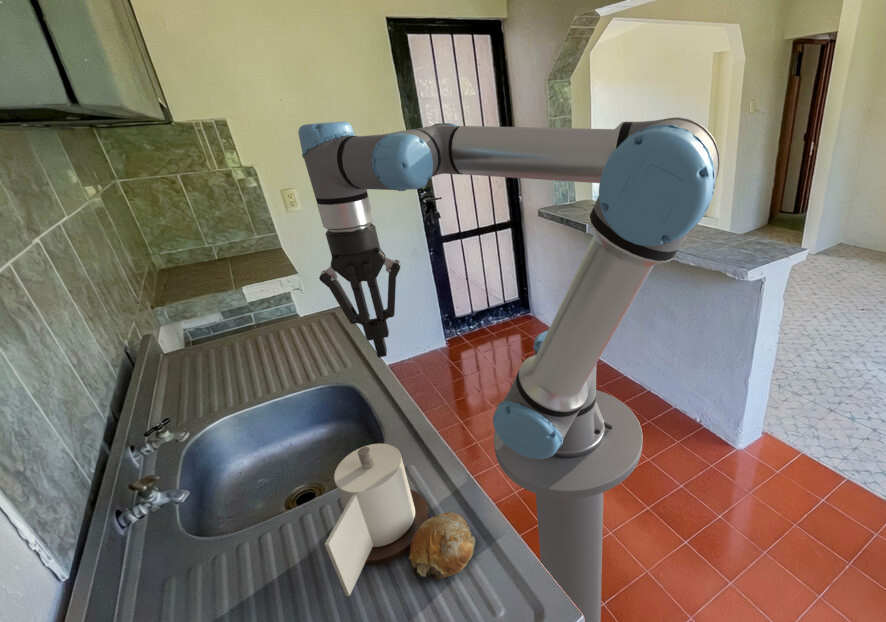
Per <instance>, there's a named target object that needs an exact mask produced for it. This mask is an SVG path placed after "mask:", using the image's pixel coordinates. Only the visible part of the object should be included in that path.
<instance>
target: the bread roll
mask: <svg viewBox="0 0 886 622" xmlns="http://www.w3.org/2000/svg"><path fill="white" fill-rule="evenodd" d="M475 547H476V538H475V535H472V532H471V529H470V527H469V525H468V523H467V521H466V519H465V518H464V517H463V516H462V515H461V514H459V513H456V512H453V511H448V512H441V513H439V514H436V515H434V516H432V517H429V519H428V520H426V521H425V522H424V523H422V525H421V526H420V527H419V529H418V530H417V531H416V533H415V535H414V537H413V539H412V542H411V543H410V551H409V556H408V557H407V559H408V560H409V561H410V564H411V567H412V574H413V575H414V576H416V577H423V578H425V579H428V580H435V579H436V580H442V579H446V578H448V577H451V576H454V575H457V574H459V573H460V572H462V571H463V569H464V568H465V567H467V565H468V563H469V562H470V561H471V559H472V557H473V555H474V550H475Z"/></svg>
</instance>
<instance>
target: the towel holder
mask: <svg viewBox="0 0 886 622" xmlns="http://www.w3.org/2000/svg"><path fill="white" fill-rule="evenodd" d="M362 447H363V448H362ZM362 447H360V448H361V449H359V448H358V449H359V451H358V456H359V459H360V462H361V466H362V468H363V469H370V468H372V467H373V465H374V461H373V458H372V454H371V451H370V448H369V447H364V446H362ZM410 492H411V496H412V499H413V503H414V507H415V518H414V521H413V523H412V525H411V527H410V528H409V529H408V531H407V532H406V533H405V534H404V535H403V536H401V537H400V538H399V539H397V540H396V541H394V542H392V543H390V544H387V545H384V546H380V547H372V549H371V551H370V553H369V556H368V558H367V560H366V562H365V564H364V566H367V567H368V566H369V567H372V566H373V567H374V566H375V567H376V566H382V565H386V564H389V563H392V562H394V561H397V560H398V559H400V558H403V557H404V556H405V555H407V554H408V553H410V543H411V542H412V539H413V537H414V535H415V533H416V531H417V530H418V529H419V527H420V526H421V525H422V523H424V522H425V521H426V520H428V519H429V518H430V514H429V509H428V505H427V502H426V500H425V499H424V497H423V496H422V495H421V494H420V493H419V492H417V491H415V490H413V489H410Z"/></svg>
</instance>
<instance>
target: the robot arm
mask: <svg viewBox="0 0 886 622" xmlns="http://www.w3.org/2000/svg"><path fill="white" fill-rule="evenodd" d="M298 137H299V143H300V144H299V145H300V148H301V156H302V158H303V160H304V164H305V167H306V170H307V173H308V177H309V181H310V184H311V187H312V192H313V194H314V198H315V201H316V206H317V209H318V213H319V215H320V216H319V217H320V219H321V224H322V227H323V228H324V229H326V232H325V237H326V241H327V245H328V248H329V251H330V255H331V259H330V266H329V267H328V268H327V269H325V270H322V271H321V273H320V275H319V281H320V282H321V283H322V284H324V285H325V286H326V287H327V288H329V291H330V292H331V293H332V296H333V297H334V298H335V300H336V302H337V304H338V305H339V307H340V309H341V310H342V312H343V314H344V315H345V318H347V321H348V322H349V323H350V324H351V325H356V324H357V325H358V324H359V325H361V326H362V328H363V332H364V335H365V339H366V340H367V341H368V342H370V341H373V344H374V349H375V352H376V355H377V358H384V357H387V356H388V353H387V351H388V349H387V344H386V340H385V338H389V333H390V330H389V327H388V322H387V320H388V319H389V318H393V317H394V316H395V312H396V311H395V310H396V290H397V289H396V288H397V276H398V274H399V272H400V270H401V261H400V260H399V259H395V260H394V259H391V258H388V257H386V254H385V252H384V251H383V250H382V249H381V245H380V241H379V236H378V233H377V228H376V225H375V224H373V221H374V215H373V210H372V207H371V202H370V198H369V193H368V190H378V191H381V190H382V191H398V192H405V191H408V190H409V191H410V190H420V189H422V188H424V187H425V186H426V185H427V184H428V181H429V180H430V179H431V178H433V177H436V176H439V175H460V176H465V175H466V176H481V177H496V178H497V177H498V178H510V179H511V178H512V179H530V180H543V181H559V182H573V183H574V182H575V183H590V184H598V196H597V199H596V201H595V203H594V205H593V207H592V209H591V211H590V214H589V216H588V222H589V225H590V228H591V229H592V232H593V235H592V238H591V240H590V241H589V244H588V246H587V248H586V251H585V252H584V255H583V257H582V259H581V260H580V262H579V265H578V267H577V269H576V271H575V273H574V276H573V277H572V280H571V282H570V284H569V286H568V289H567V290H566V293H565V294H564V297H563V299H562V301H561V303H560V305H559V307H558V309H557V311H556V313H555V316H554V318H553V320H552V322H551V324H550V326H549V328H548V329H547V330H545V331H543V332H541V333H539V334H537V336H536V337H535V338H534V342H533V343H534V344H533V351H534V355H532V356H529V357H528V358H526V359H524V361H523V362H522V364H521V365H520V366H519V369H518V371H517V374H516V375H515V378H514V380H513V381H512V384H511V386H510V388H509V391H508V392H507V394H506V395H505V397H504V398H503V400H502V401H501V402H499V403H498V404H497V406H496V409H495V411H494V413H493V415H492V424H493V428H494V432H495V431H496V433H497V434H498V435H499V436H500V439H501V440H502V441H503V442H504V443H505V444H506V445H507V446H508V447H509V448H511V449H512V450H513V451H515V452H517V453H519V454H520V455H523V456H525V457H528V458H532V459H534V458H537V459H545V458H549V457H551V456H554V457H559V458H576V457H580V456H584V455H586V454H589V453H590V452H592V451H594V450H595V449H596V448H597V447H598V446H599V445H600V444H601V442H602V441H603V438H604V431H605V428H607V429H610V430H611V429H612V425H610V424H607V423H605V422H604V420H603V417H602V415H601V412H600V410H599V407H598V405H597V402H596V390H597V363H598V362H599V360H600V359H601V356H602V355H603V353H604V351H605V350H606V349H607V347H608V345H609V343H610V341H611V340H612V338H613V336H614V335H615V333H616V331H617V329H618V328H619V326H620V325H621V323H622V321H623V319H624V317H625V316H626V315H627V313H628V311H629V310H630V308H631V306H632V304H633V302H634V301H635V299H636V297H637V295H638V294H639V292H640V290H641V289H642V287H643V285H644V283H645V282H646V280H647V278H648V277H649V275H650V273H651V272H652V270H653V269H654V267H655V266H656V265H661V264H665V263H669V262H671V261H672V260H673V259H674V257H675V255H676V254H677V252H678V251H679V249H680V248H681V246H682V244H683V243H684V241H685V239H686V238H687V237H688V234H690V231H692V230H693V229H694V227H695V226H696V225H698V224H699V223H700V222H701V220H702V219H703V218H704V216H705V214H706V212H707V211H708V209H709V207H710V205H711V202H712V200H713V196H714V192H715V187H716V181H717V178H718V175H719V171H720V165H721V157H720V151H719V147H718V144H717V141H716V140H715V138H714V136H713V135H712V133H711V132H710V131H709V130H708V128H707V127H705V126H704V125H702V124H701V123H700V122H698V121H695V120H693V119H690V118H685V117H678V116H677V117H668V118H661V119H656V120H645V121H643V120H642V121H622V122H620V123H619V124H618V125H617V126H616V127H615V128H576V127H574V128H573V127H569V128H568V127H532V126H531V127H530V126H529V127H528V126H527V127H526V126H525V127H523V126H485V125H484V126H481V125H480V126H479V125H462V126H460V125H458V124H456V123H450V122H449V123H447V122H442V123H441V122H439V123H435V124H433V125H429V126H424V127H418V128H412V129H406V130H405V129H404V130H400V131H394V132H388V133H382V134H372V135H356V133H354V129H353V126H352V124H351V123H349V122H348V121H330V122H318V123H317V122H316V123H306V124H303V125H301V126H300V127H299V128H298ZM384 266H385V271H386V272H387V273H388V279H387V280H388V281H387V305H386V306H387V307H386V308H385V309H384V304H383V300H382V296H381V292H380V287H379V284H378V278H377V277H378V276H379V274H380V272H381V270H382V269H383V267H384ZM338 275H339V276H341V278H343V279H345V280H346V281H347V282H349V284H350V288H351V290H352V292H353V293H352V294H353V296H354V301H355V304H356V308H357V310H356V309H355V307H354V305H353V304H352V302H351V300H350V298H349V296H348V295H347V294H346V291H345V290H344V288H343V287H342V285H341V283H340V281H339V280H338ZM362 282H366V284H367V287H368V289H369V293H370V297H371V301H372V302H371V303H372V305H373V309H374V313H375V318H371V314H370V311H369V308H368V305H367V301H366V297H365V293H364V289H363V285H362ZM357 311H358V312H357Z"/></svg>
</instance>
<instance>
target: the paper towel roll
mask: <svg viewBox="0 0 886 622" xmlns="http://www.w3.org/2000/svg"><path fill="white" fill-rule="evenodd" d="M363 447H369V448H370V451H371V454H372V458H373V461H374V465H373V467H372V468H370V469H363V468H362V466H361V462H360V459H359V456H358V451H359V449H361V448H363ZM333 479H334V484H335V486H336V488H337V492H338V495H339V497H340V500H341V503H342V506H343V508H344V510H343V511H342V513H341V514H340V515H339V518H338V520H337V522H336V523H335V525H334V527H333V528H332V530H331V531H330V534H329V536H328V537H327V539H326V541H325V543H324V546H325V549H326V551H327V553H328V557H329V558H330V560H331V564H332V566H333V569H334V570H335V573H336V575H337V578H338V581H339V582H340V585H341V588H342V590H343V592H344V595H345V597H350V596H351V594H352V592H353V590H354V588H355V586H356V584H357V581H358V579H359V577H360V575H361V573H362V571H363V568H364V566H365V565H364V564H365V562H366V560H367V558H368V556H369V553H370V551H371V549H372V547H380V546H384V545H387V544H390V543H392V542H394V541H396V540H397V539H399V538H400V537H401V536H403V535H404V534H405V533H406V532H407V531H408V529H409V528H410V527H411V525H412V523H413V521H414V518H415V507H414V503H413V499H412V496H411V492H410V490H411V487H410V485H409V480H408V477H407V472H406V469H405V465H404V461H403V457H402V454H401V452H400V450H399V449H398V448H397V447H396V446H394V445H391V444H387V443H372V444H369V445H364V446H362V447H360V448H357V449H355V450H353V451H351V452H350V453H349V454H347V455H346V456H345V457H344V458H343V459H342V460H341V461H340V462H339V463H338V465H337V466H336V469H335V471H334V474H333Z"/></svg>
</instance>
